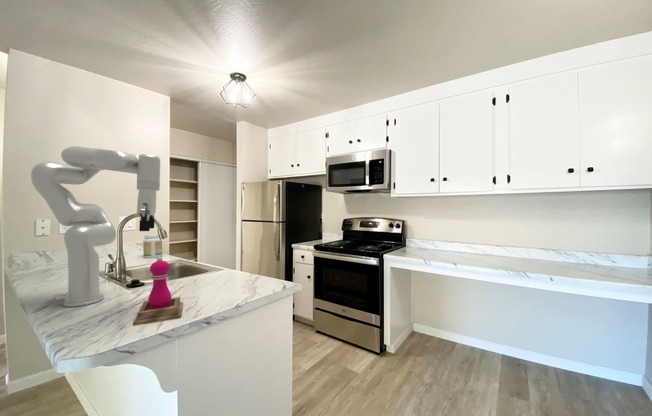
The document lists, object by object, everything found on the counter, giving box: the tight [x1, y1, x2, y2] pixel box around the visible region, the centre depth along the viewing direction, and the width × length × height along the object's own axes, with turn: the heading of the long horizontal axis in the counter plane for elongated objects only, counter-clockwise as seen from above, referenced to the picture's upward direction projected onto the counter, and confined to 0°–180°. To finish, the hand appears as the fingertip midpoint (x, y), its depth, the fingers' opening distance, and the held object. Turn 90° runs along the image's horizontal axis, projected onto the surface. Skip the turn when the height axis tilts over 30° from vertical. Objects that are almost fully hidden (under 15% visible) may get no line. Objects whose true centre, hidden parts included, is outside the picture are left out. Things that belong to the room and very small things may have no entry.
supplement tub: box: [142, 233, 163, 259], centre depth 205 cm, size 12×12×17 cm
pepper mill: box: [147, 256, 172, 310], centre depth 98 cm, size 7×7×20 cm
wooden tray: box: [132, 296, 184, 326], centre depth 98 cm, size 14×14×4 cm
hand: (147, 229), depth 106 cm, fingers open, 9 cm apart
